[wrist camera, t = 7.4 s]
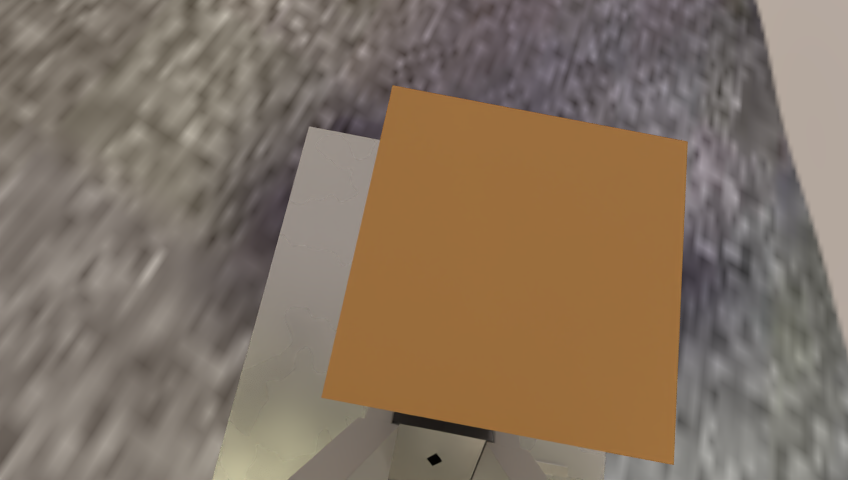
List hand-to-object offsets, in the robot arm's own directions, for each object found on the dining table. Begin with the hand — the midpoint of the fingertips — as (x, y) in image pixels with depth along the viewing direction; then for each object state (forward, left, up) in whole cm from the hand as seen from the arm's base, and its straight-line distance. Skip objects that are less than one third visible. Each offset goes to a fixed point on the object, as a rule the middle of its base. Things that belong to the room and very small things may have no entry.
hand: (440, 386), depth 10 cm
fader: (-1, +1, -4) cm, 5 cm away
